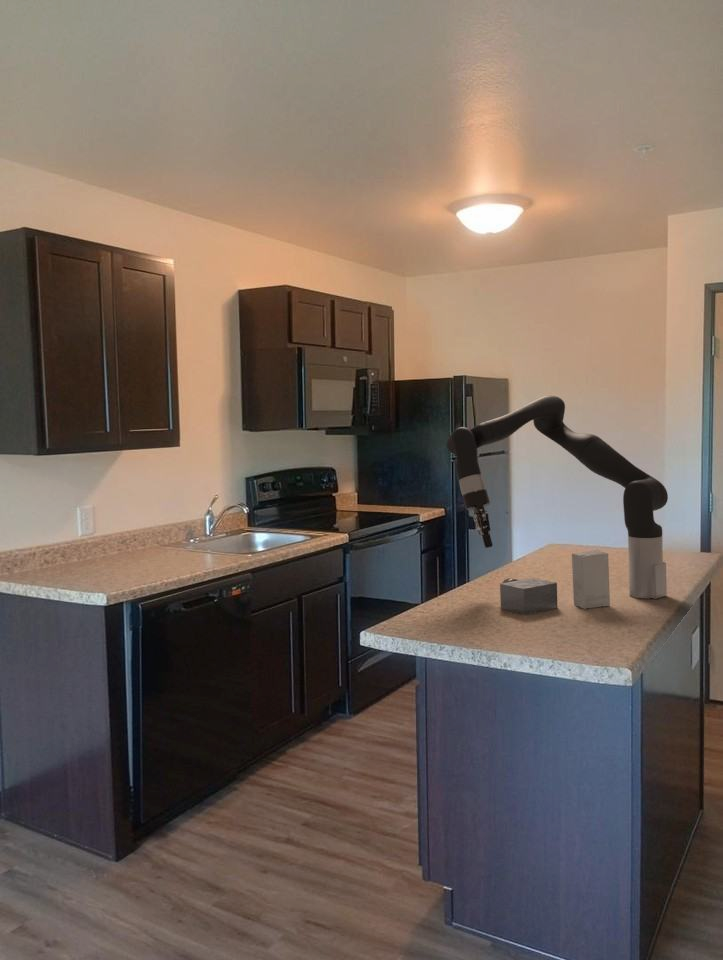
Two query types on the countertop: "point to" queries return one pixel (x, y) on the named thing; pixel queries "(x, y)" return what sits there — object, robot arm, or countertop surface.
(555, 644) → the countertop surface
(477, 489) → the robot arm
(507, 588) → the block
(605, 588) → the skincare box
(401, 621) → the countertop surface
